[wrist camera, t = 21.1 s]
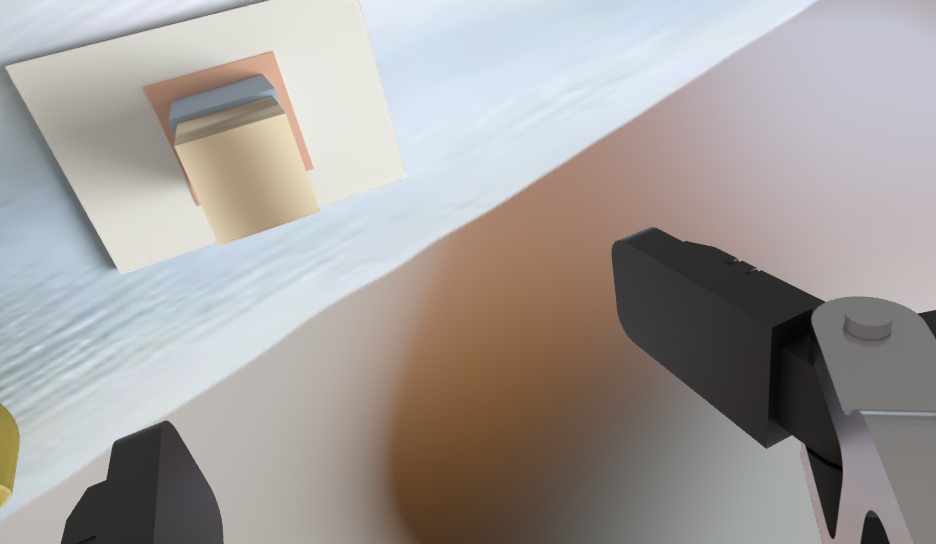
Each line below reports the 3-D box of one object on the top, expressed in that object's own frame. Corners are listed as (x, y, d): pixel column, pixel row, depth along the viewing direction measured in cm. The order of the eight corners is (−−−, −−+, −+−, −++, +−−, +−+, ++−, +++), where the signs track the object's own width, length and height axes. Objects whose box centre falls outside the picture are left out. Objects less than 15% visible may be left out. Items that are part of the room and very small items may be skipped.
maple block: (272, 95, 30) (285, 113, 25) (303, 182, 32) (320, 211, 27) (177, 122, 28) (174, 146, 24) (215, 210, 31) (219, 245, 26)
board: (349, -21, 35) (354, -21, 34) (402, 174, 41) (407, 178, 40) (9, 64, 31) (4, 66, 30) (122, 268, 37) (120, 275, 36)
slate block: (262, 73, 34) (274, 88, 29) (294, 157, 37) (310, 184, 32) (172, 100, 33) (168, 120, 28) (210, 184, 36) (213, 217, 31)
